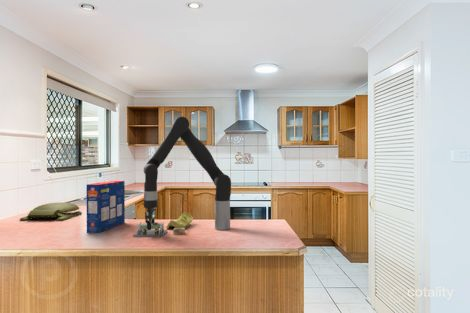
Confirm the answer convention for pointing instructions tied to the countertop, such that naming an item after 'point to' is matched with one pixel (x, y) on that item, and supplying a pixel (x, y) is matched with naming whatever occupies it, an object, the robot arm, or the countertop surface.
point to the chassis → (150, 232)
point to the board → (153, 226)
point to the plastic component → (181, 221)
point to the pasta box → (105, 205)
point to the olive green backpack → (53, 211)
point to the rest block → (178, 231)
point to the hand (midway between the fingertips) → (150, 228)
